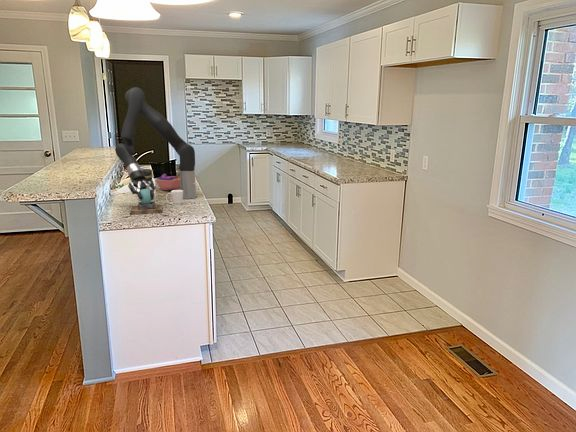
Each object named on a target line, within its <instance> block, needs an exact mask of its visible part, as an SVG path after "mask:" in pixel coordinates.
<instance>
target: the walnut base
mask: <svg viewBox="0 0 576 432" xmlns="http://www.w3.org/2000/svg"><path fill="white" fill-rule="evenodd" d="M148 213H155V214H162V213H163V204H156V201H155V200H154V201H152V200H151V204H149V205H142V204H141V201H138V203H137V205H132V206H131V208H130V216H131V215H133V216H134V215H135V214H136V215H149V214H148Z"/></svg>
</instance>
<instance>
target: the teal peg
mask: <svg viewBox="0 0 576 432" xmlns="http://www.w3.org/2000/svg"><path fill="white" fill-rule="evenodd" d="M140 193H141V195H142V197H143V198H142V200H140V202H141V204H142V205H149V204H151V201H152V199H151V197H150V189H141V190H140Z"/></svg>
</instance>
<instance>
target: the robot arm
mask: <svg viewBox="0 0 576 432" xmlns="http://www.w3.org/2000/svg"><path fill="white" fill-rule="evenodd" d="M145 96H146V95H145V92H144V90H143V89H141V88H140V87H137V86H135V87H131V88H129V89H128V90H127V91H126V92H125V94H124V97H125V100H126V102H127V103H128V108H127V113H126V114H125V118H124V121H123V123H122V128H121V134H120V137H121V139H122V140H123V141H124V143H117V144H116V146H115V149H114V151H115V154H116V156H117V158H119V160H120V161H121V162H122V163H123V165H124V167H125V169H126V172H127V174H128V175H127V176H128V177H129V178H130V181H131V182H129V183H128V185H127V187H128V189H129V191H130V192H131V194H132V195H136V196H137V198H138V199H140V201H141V200H142V198H143V197H142V195H141V193H140V192H139V191H140V189H150V195H151V197H152V198H153V199H154V198H155V189H156V187H155V183H154V181H153V179H152V180H151V181H147V180H146V178H145V176H144V173H143V171H142V170H143V169H142V168H141V165H139V162H138V161H137V159H136V157H134V154H135V153H136V152H135V148H136V147H135V135H136V131H137V129H136V128H137V125H138V119H139V116H140V115H141V116H142V117H143V118H144V119H145V121H146V122H147V123H148V124H149V125H150V126H151V128H152V129H154V130H155V132H156V133H157V134H158V135H160V136H161V138H163V139H164V140H165V141H166V142H167V143H169V145H170V146H171V147H172V148H173V149H174V151H175V152H176V154H177V155H178V157H179V166H178V169H179V177H180V189H179V190H183V199H187V200H191V199H196V198H197V187H196V170H195V168H196V151H195V148H194V147H193V146H192V145H191V144H189V143H187V142H186V141H185V140H184V139H182V138H181V136H180V135H179V134H178V133H177V131H176V129H175V128H174V127H173V125H172V124H171V123H170V121H168V120H167V118H165V116H164V115H163V114H161V113H160V112H159V111H158V110H155V108H153V107H152V106H151V105H149V103H147V101H146V100H145V98H146V97H145ZM148 184H149V185H150V186H149V185H148ZM183 199H182V200H183Z"/></svg>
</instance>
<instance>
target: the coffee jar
mask: <svg viewBox="0 0 576 432" xmlns="http://www.w3.org/2000/svg"><path fill="white" fill-rule="evenodd" d="M142 171H143V173H144V176H145V178H146V180H147V181H151V180H152V181H153V171H152V170H151V169H150V168H144V169H142ZM148 185H149V184H148ZM149 186H150V185H149ZM140 190H141V189H140ZM139 192H140V191H139ZM150 197H151V195H150ZM138 199H139V198H138ZM153 199H154V198H152V197H151V200H153ZM139 200H140V199H139ZM140 201H141V200H140Z"/></svg>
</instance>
